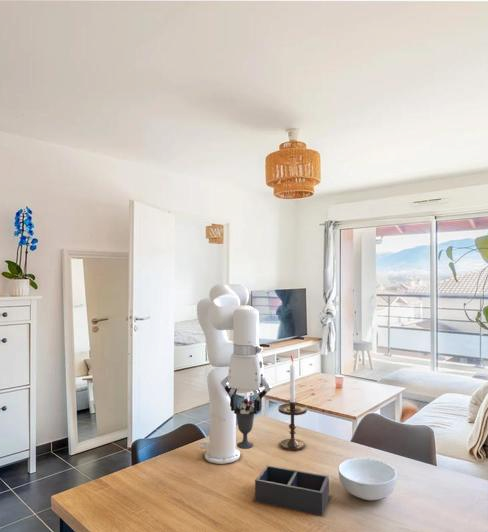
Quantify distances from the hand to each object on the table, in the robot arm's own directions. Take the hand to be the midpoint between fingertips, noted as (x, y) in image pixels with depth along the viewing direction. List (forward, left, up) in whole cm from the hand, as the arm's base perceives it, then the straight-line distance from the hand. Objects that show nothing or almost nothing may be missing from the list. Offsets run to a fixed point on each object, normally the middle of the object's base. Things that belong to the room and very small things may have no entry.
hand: (245, 410), depth 118 cm
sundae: (0, 0, -10) cm, 10 cm away
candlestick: (+3, +40, -25) cm, 48 cm away
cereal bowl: (+33, +15, -25) cm, 44 cm away
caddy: (+13, +4, -25) cm, 29 cm away
